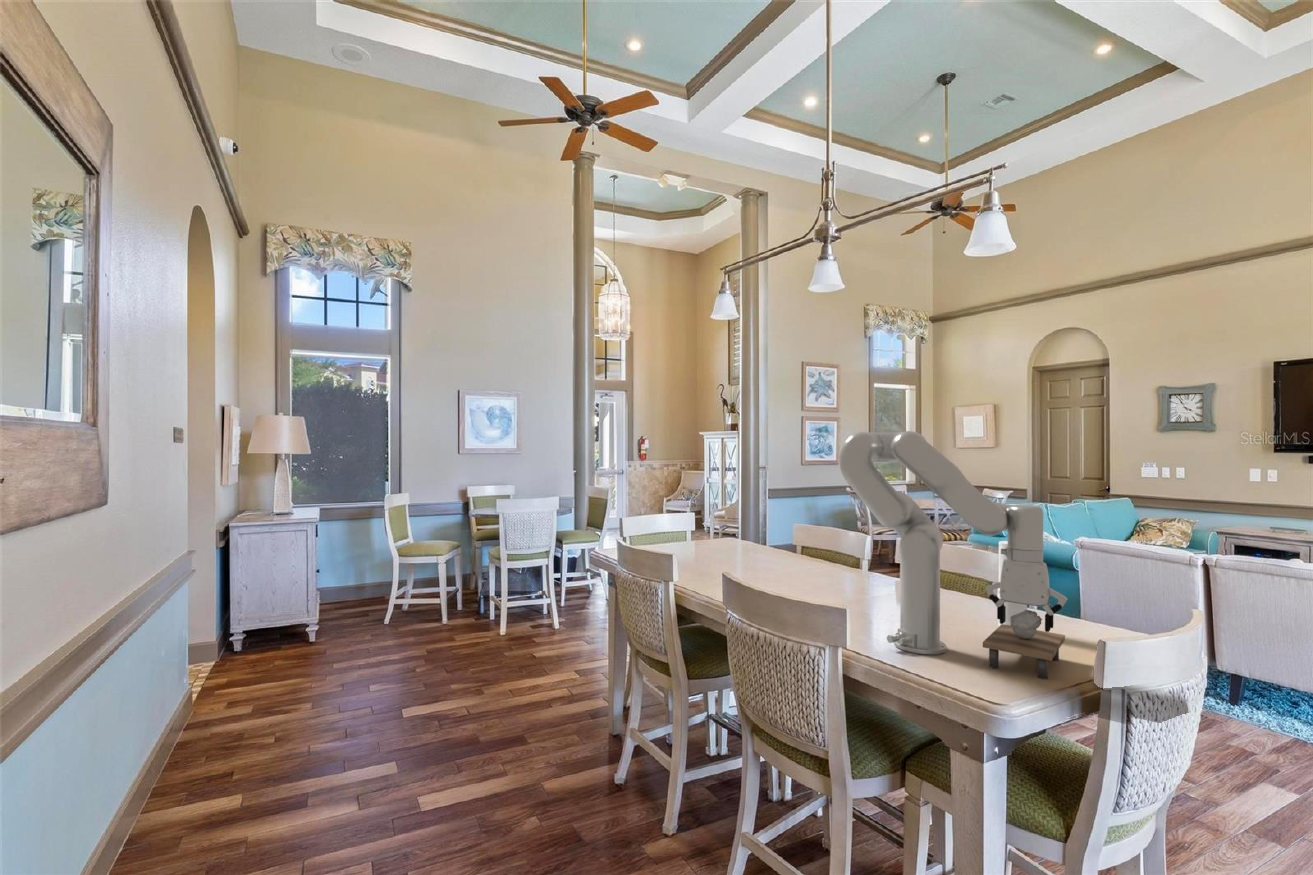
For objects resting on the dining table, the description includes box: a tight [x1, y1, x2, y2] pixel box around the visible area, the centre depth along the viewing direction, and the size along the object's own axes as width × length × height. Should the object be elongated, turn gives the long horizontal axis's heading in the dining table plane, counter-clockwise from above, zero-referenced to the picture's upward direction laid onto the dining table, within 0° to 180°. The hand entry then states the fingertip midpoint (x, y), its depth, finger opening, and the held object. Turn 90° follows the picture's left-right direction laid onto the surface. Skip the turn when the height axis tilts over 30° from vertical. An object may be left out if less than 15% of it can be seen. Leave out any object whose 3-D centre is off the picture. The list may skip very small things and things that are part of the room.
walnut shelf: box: [982, 624, 1066, 680], centre depth 154 cm, size 20×14×6 cm
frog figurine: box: [1010, 609, 1043, 639], centre depth 154 cm, size 6×7×7 cm
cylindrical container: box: [997, 540, 1028, 628], centre depth 180 cm, size 7×7×25 cm
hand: (1024, 626), depth 154 cm, fingers open, 9 cm apart
